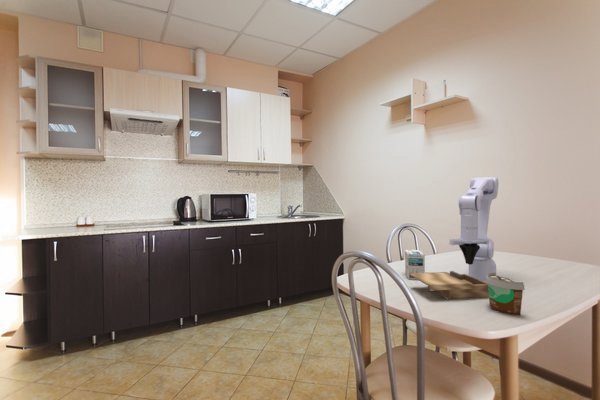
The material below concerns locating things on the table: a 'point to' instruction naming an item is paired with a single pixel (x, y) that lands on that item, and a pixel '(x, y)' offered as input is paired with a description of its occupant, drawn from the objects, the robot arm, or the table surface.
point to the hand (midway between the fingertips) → (469, 263)
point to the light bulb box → (414, 262)
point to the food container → (504, 294)
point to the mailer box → (467, 290)
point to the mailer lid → (442, 280)
